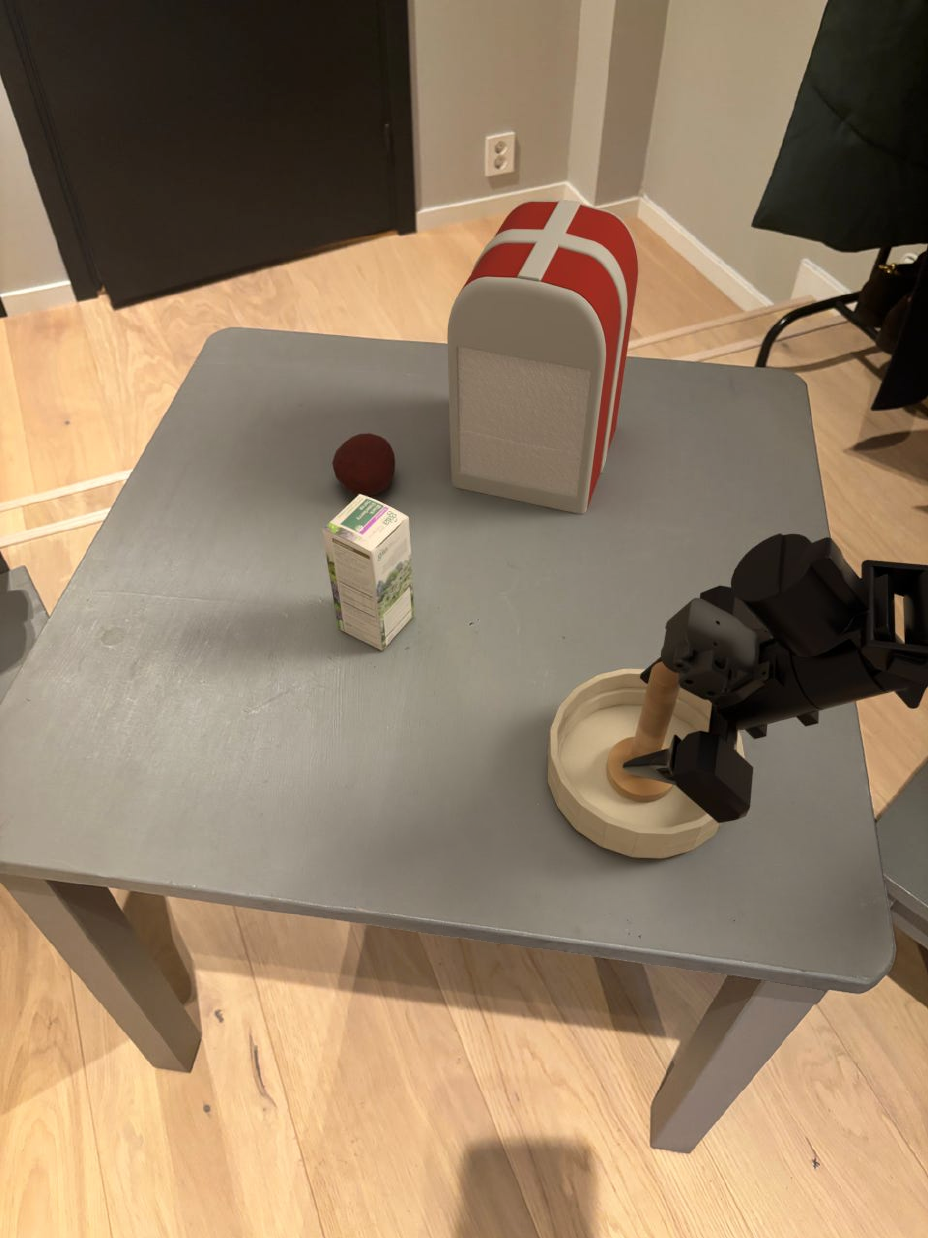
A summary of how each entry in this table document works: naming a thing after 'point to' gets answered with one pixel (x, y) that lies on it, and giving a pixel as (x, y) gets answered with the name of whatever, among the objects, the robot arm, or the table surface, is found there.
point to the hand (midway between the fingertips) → (634, 722)
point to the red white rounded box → (541, 354)
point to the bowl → (581, 779)
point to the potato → (364, 464)
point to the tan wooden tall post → (646, 738)
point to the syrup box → (370, 570)
